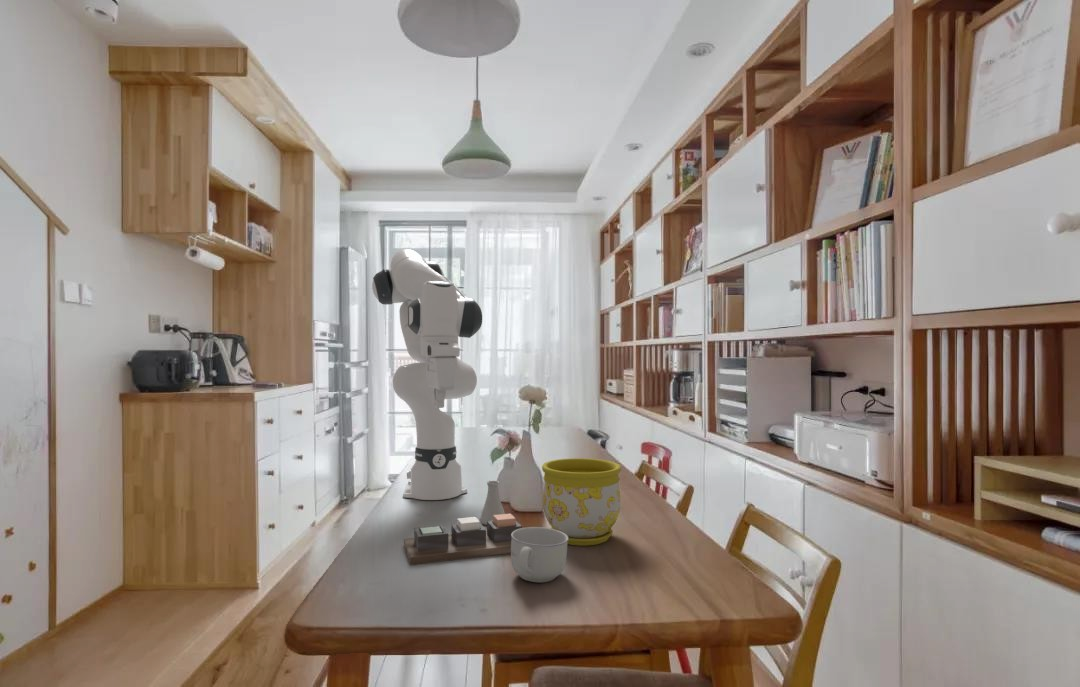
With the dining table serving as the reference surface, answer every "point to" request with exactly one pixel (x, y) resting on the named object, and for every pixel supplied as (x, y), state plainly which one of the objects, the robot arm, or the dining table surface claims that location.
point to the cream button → (468, 524)
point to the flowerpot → (582, 498)
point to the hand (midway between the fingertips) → (439, 407)
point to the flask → (491, 503)
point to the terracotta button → (504, 520)
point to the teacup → (538, 553)
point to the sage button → (430, 530)
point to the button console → (459, 543)
